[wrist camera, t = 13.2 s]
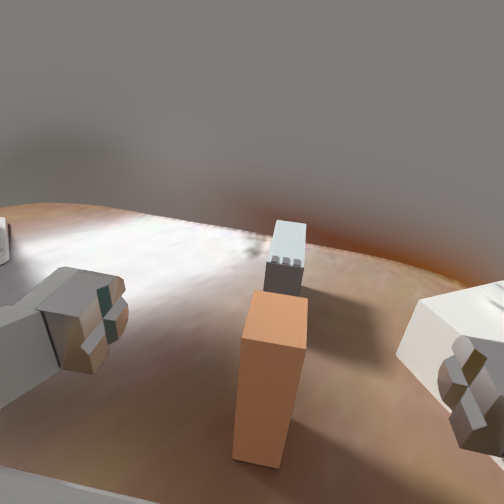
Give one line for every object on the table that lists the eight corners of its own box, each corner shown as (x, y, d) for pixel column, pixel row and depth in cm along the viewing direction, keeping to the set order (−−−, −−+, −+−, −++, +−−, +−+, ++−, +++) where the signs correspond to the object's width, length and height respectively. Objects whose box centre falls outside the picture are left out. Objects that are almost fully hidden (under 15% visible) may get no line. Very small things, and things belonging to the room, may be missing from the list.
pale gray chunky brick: (291, 335, 41) (304, 266, 35) (258, 330, 41) (266, 260, 36) (295, 283, 50) (306, 223, 45) (269, 279, 50) (276, 218, 45)
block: (279, 468, 27) (306, 349, 20) (231, 458, 28) (241, 337, 21) (284, 413, 32) (307, 298, 24) (242, 405, 32) (254, 289, 25)
